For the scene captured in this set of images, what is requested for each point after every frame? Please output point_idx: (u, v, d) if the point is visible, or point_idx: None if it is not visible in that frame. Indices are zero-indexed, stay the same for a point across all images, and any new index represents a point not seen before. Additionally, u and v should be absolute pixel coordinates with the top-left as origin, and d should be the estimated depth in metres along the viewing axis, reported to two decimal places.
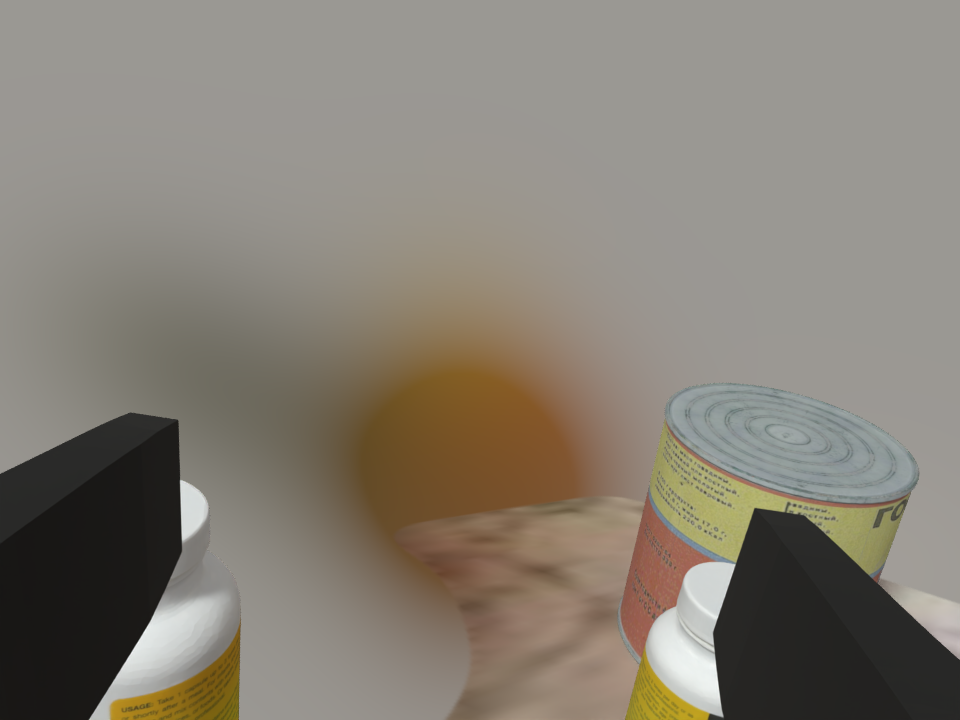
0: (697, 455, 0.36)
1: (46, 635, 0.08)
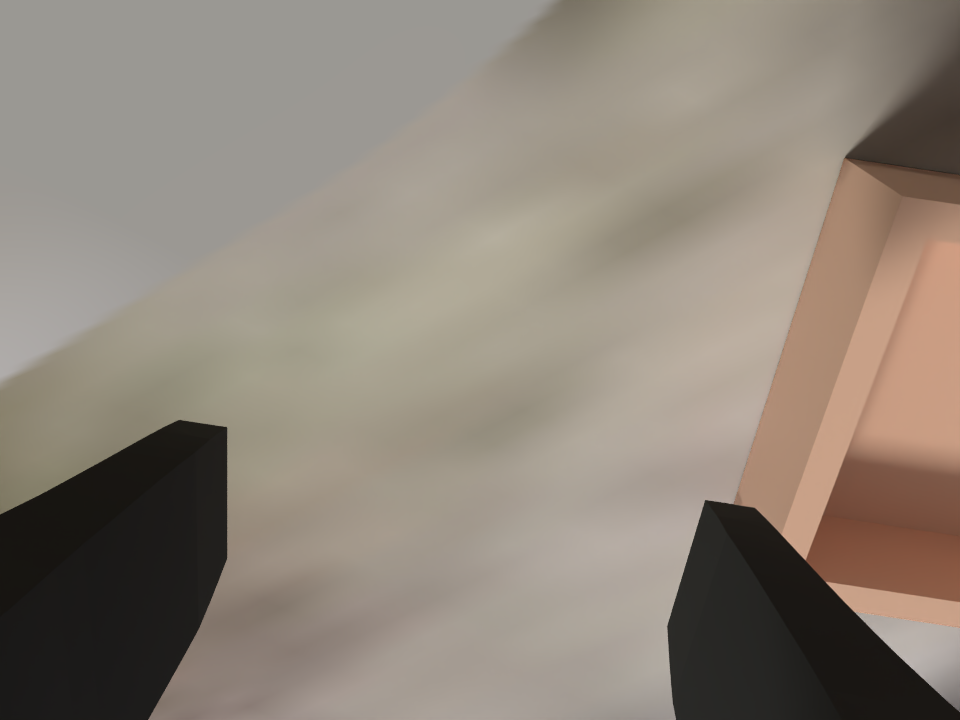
0: None
1: (108, 645, 0.08)
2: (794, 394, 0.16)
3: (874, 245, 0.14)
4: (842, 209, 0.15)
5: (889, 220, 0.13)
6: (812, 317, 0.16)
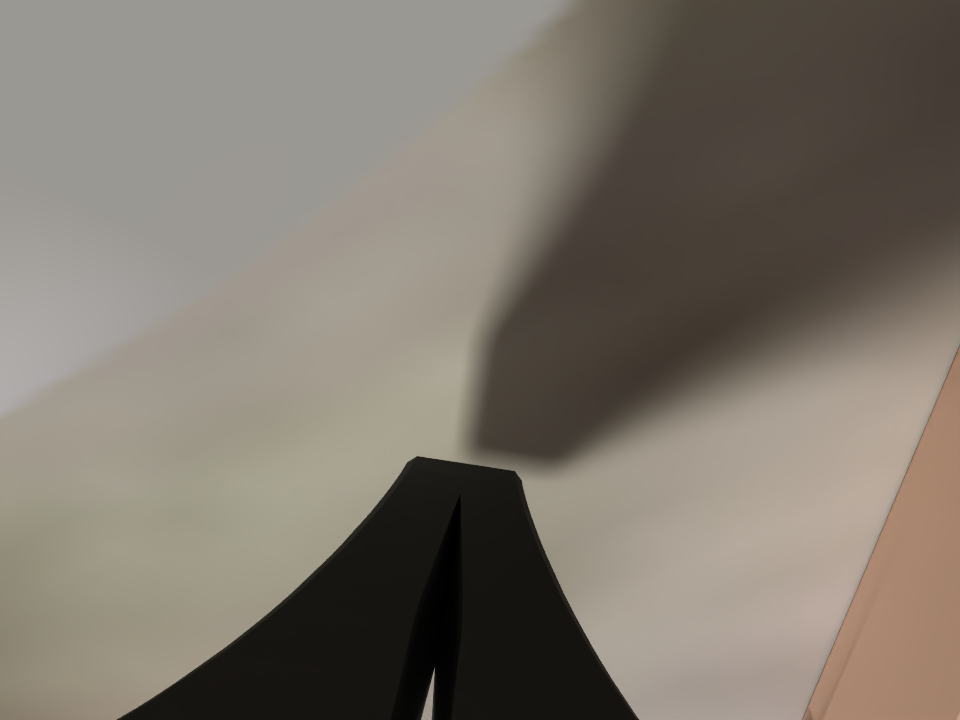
0: None
1: (411, 691, 0.08)
2: (910, 611, 0.11)
3: None
4: None
5: None
6: (941, 501, 0.10)
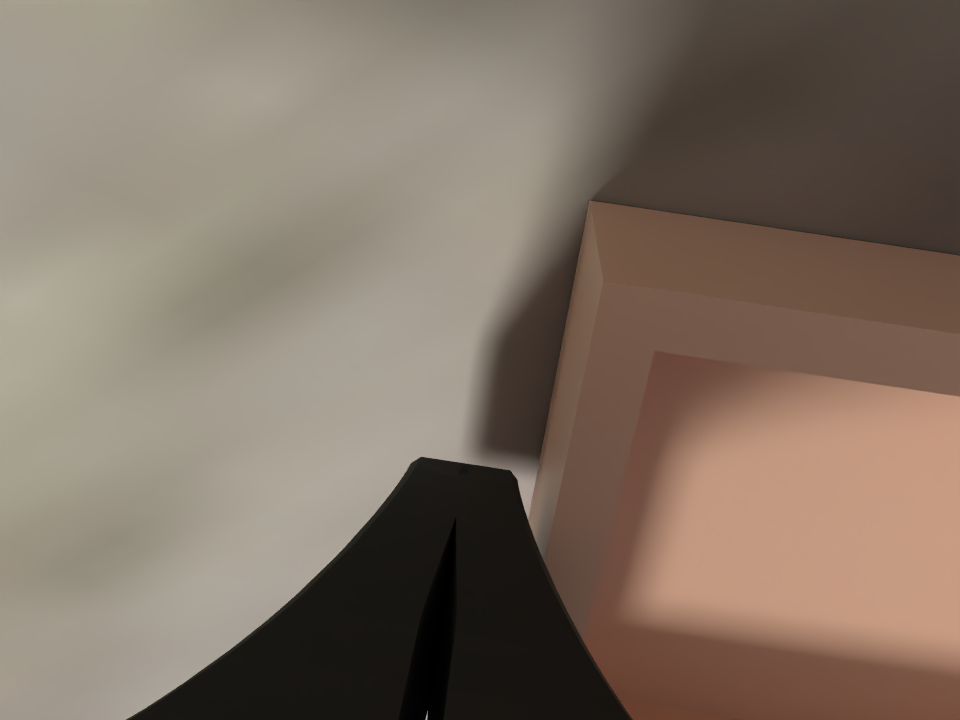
0: None
1: (416, 692, 0.08)
2: None
3: (583, 354, 0.08)
4: (580, 281, 0.10)
5: (595, 317, 0.08)
6: (550, 440, 0.10)
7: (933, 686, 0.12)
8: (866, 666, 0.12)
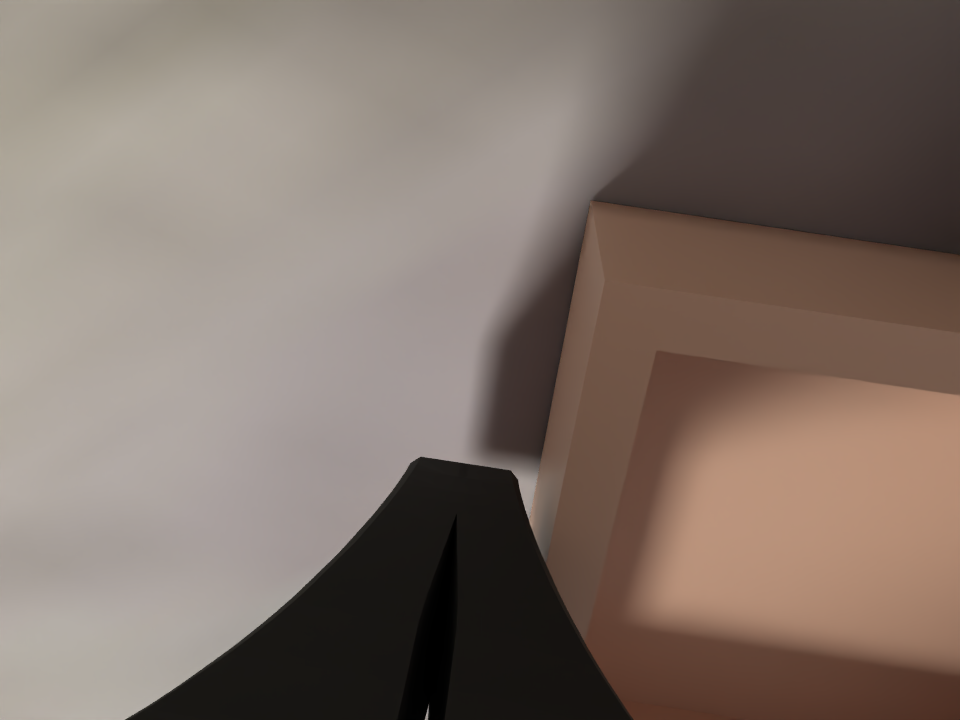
0: None
1: (416, 692, 0.08)
2: None
3: (585, 354, 0.08)
4: (580, 280, 0.10)
5: None
6: (551, 440, 0.10)
7: (934, 686, 0.12)
8: (868, 666, 0.12)
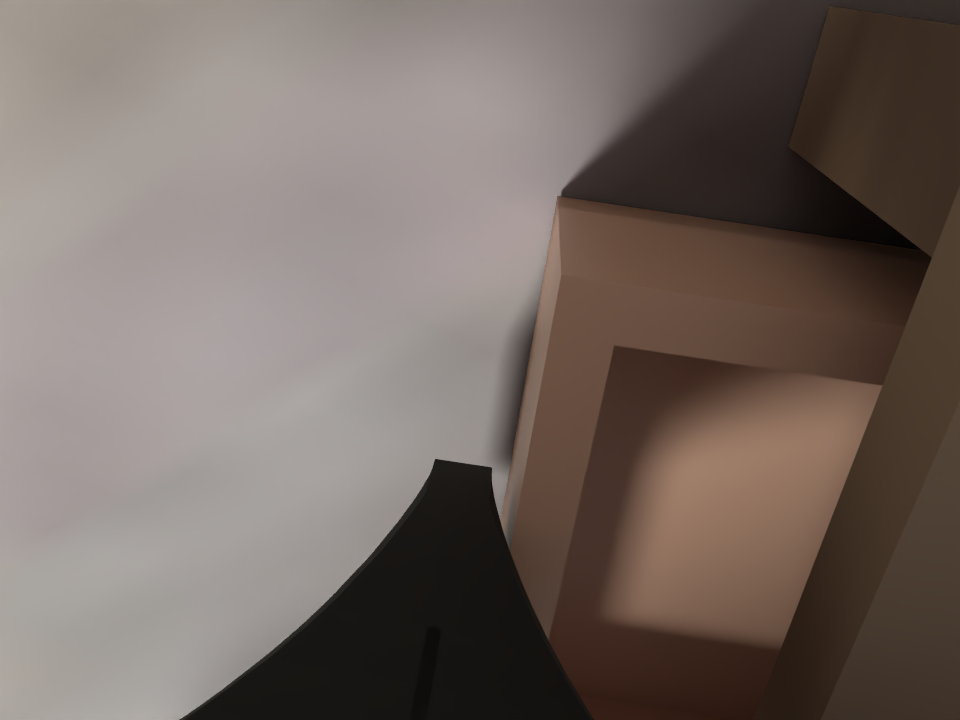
0: None
1: None
2: None
3: (545, 349, 0.08)
4: (547, 277, 0.10)
5: None
6: (519, 436, 0.10)
7: None
8: None
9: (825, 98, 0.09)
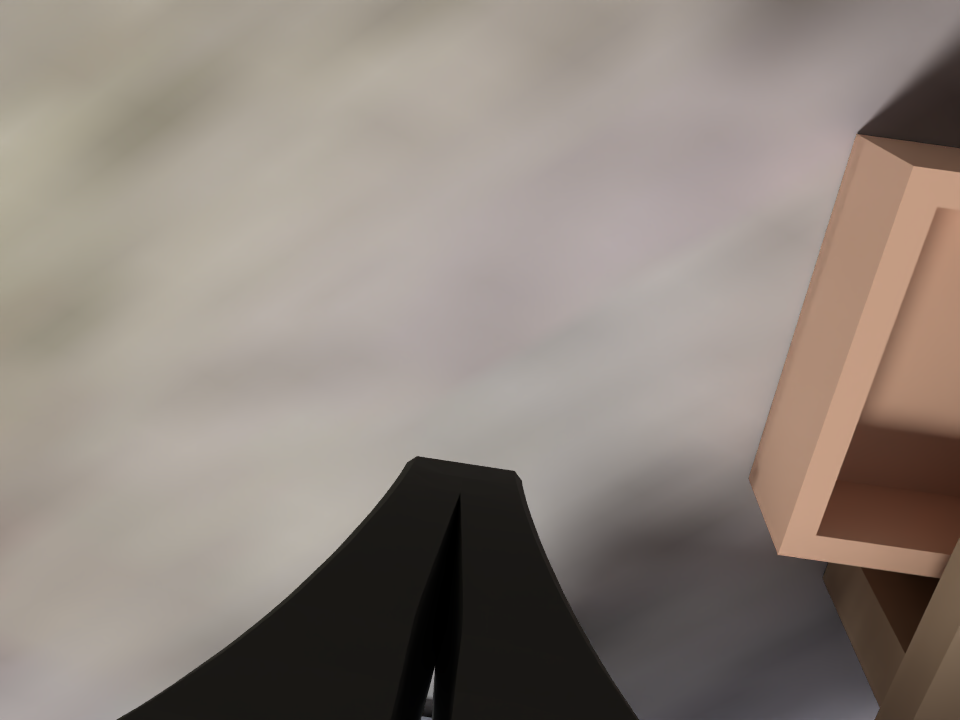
0: None
1: (411, 691, 0.08)
2: (810, 360, 0.17)
3: (887, 214, 0.14)
4: (855, 182, 0.16)
5: (901, 189, 0.14)
6: (827, 286, 0.17)
7: None
8: None
9: None
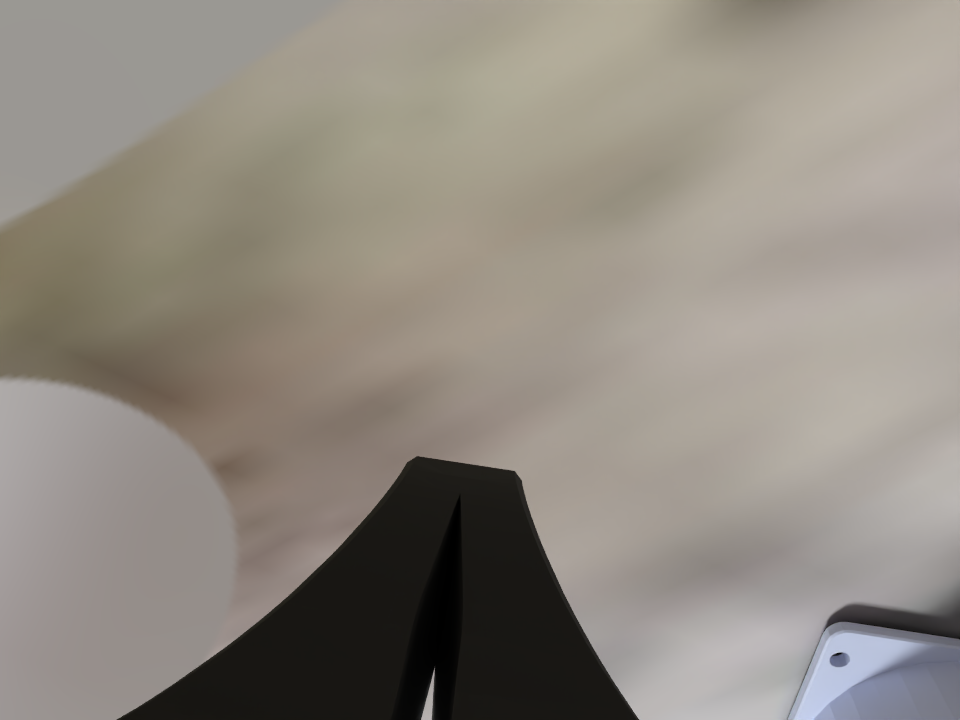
0: None
1: (411, 692, 0.08)
2: None
3: None
4: None
5: None
6: None
7: None
8: None
9: None
